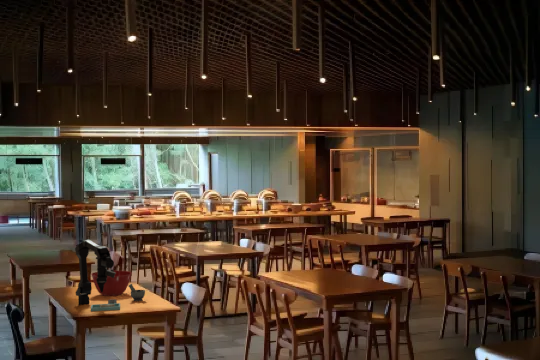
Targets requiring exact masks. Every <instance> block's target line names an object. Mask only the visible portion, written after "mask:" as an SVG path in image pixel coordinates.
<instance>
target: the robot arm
mask: <svg viewBox="0 0 540 360" xmlns="http://www.w3.org/2000/svg"><path fill="white" fill-rule="evenodd" d="M90 251H92V252H94V255H95V260H96V265H97V266H96V268H97V269H96V272H97V279H96V281H97V284H98V286H99V288H100V291H101V292H103V289H104V284H105V283H106V282H107V276H110V277H112V278H114V276H115V274H116V273H115V272H114V271H115V269H113V267H114V265H115V261H114V260H113V259H112V256H111V254H110V252H109V249H108V247H107V246H104V245H99V244H97V243H95V242H94V241H92V240H91V239H84V240H83V241H82V242H80V243H78V244H76V246H75V248H74V252H75V255H76V256H77V258H78V265H79V282H78V283H77V289H76V290H75V296H77V298H78V302H77V303H78V304H77V306H81V305H89V304H90V295H92V289H93V288H92V282H91V281H90V280H89V276H88V261H87V260H88V259H87V258H88V256H89V254H90ZM109 269H110V270H109Z"/></svg>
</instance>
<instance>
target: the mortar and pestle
mask: <svg viewBox="0 0 540 360" xmlns="http://www.w3.org/2000/svg"><path fill="white" fill-rule="evenodd" d="M128 288H129V289H130V297H131V299H133V301H134V302H143V298H144V297H145V295H146V290H145V289H136V288H135V287H134V286H133V284H132V283H129V284H128Z"/></svg>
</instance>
